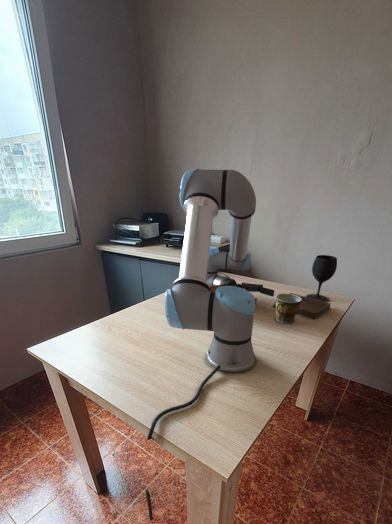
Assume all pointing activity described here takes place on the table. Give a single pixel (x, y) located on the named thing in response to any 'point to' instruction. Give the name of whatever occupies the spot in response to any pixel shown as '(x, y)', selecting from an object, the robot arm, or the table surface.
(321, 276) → the wine glass
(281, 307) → the ceramic cup
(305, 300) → the tray
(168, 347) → the table surface
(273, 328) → the table surface
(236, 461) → the table surface
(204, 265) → the robot arm
